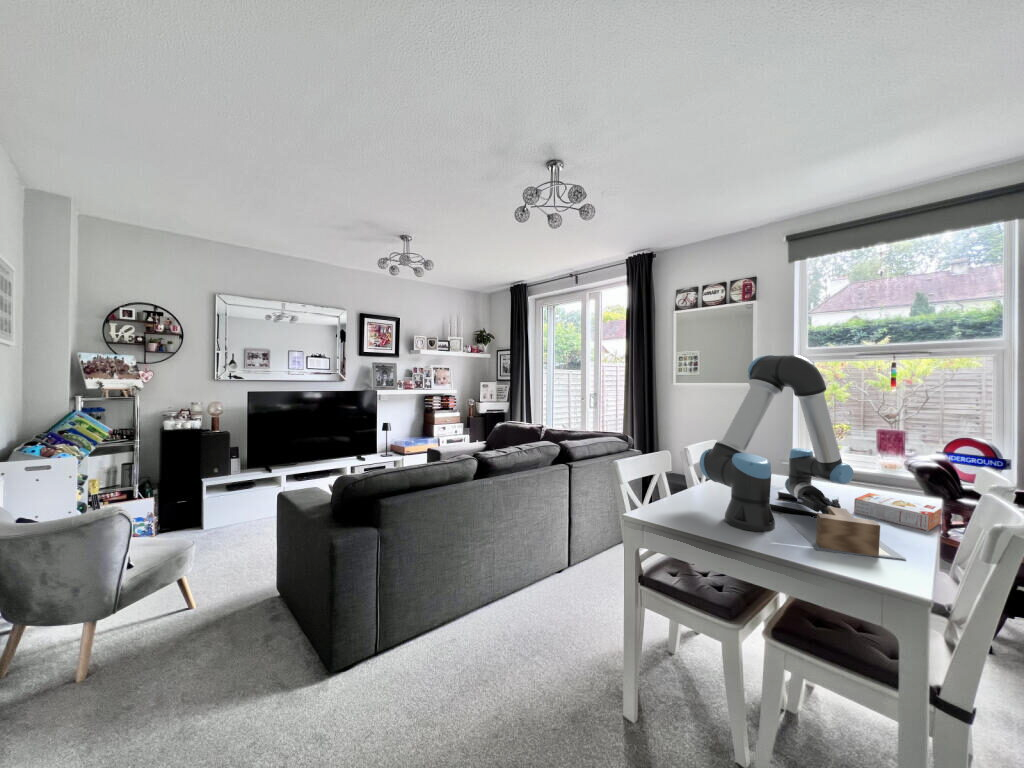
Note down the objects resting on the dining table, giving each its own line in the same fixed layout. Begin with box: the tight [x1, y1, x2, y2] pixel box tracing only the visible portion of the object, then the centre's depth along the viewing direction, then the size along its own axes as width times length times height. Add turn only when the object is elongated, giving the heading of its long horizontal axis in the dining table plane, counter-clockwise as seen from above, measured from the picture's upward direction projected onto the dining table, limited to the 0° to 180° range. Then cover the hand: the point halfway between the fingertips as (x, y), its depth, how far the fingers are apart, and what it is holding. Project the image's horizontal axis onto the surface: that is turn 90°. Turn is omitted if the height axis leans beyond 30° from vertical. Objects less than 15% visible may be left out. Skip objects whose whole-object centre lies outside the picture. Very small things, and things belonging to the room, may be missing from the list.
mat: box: [780, 513, 906, 560], centre depth 139 cm, size 22×32×1 cm
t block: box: [816, 507, 881, 558], centre depth 131 cm, size 14×14×9 cm
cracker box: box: [853, 492, 943, 532], centre depth 155 cm, size 14×6×21 cm
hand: (838, 516), depth 137 cm, fingers closed
